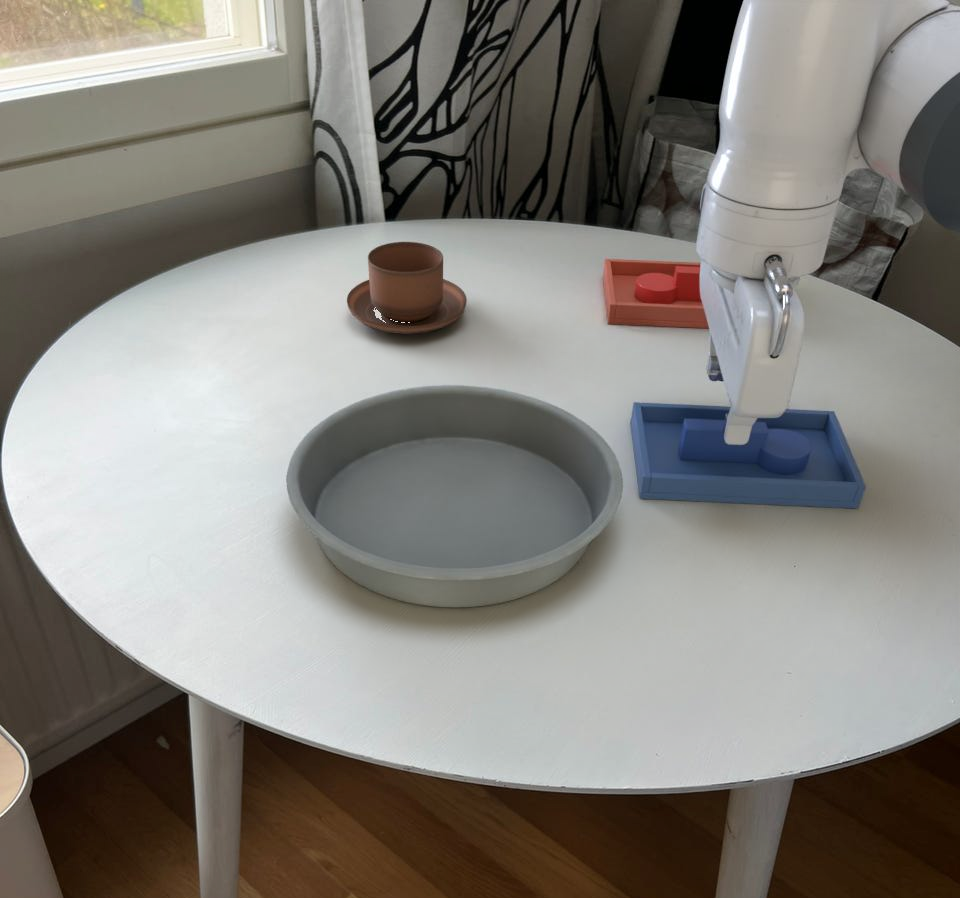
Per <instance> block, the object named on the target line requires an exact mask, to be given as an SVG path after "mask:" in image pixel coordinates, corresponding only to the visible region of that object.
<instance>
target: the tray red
mask: <svg viewBox="0 0 960 898" xmlns="http://www.w3.org/2000/svg"><path fill="white" fill-rule="evenodd" d="M700 265H701V262H695V261H693V262H691V261H667V260H646V259H644V260H643V259H640V260H639V259H623V258H622V259H621V258H604V264H603V270H602V271H603V272H602V283H603V291H604V293H603V294H604V299H605V300H604V301H605V302H604V303H605V310H606V319H607V324H608V325H623V326H624V325H627V326H647V327H669V328H693V329H709V326H708V322H707V318H706V315H705V311H704V308H703V304H702V302H700V301H679V300H675V301H674V302H673V303H671V304H648V303H643V302H641V301H639V300H638V299H637V298H636V297H635V288H636V281H637V278H638V277H639V276H641V275H643V274H647V273H662V274H666V275H670V276H672V277H674V273H675V267H676V266H688V267H700Z"/></svg>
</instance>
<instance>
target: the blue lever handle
mask: <svg viewBox="0 0 960 898" xmlns="http://www.w3.org/2000/svg"><path fill="white" fill-rule="evenodd" d="M723 425H724V420H707V419H686V418H685V419H684V423H683V428H682V433H681V438H680V443H679V448H678V450H679V456H680V460H693V461H714V462H735V463H756V464H757V465H758V466H760V467H761V468H763V469H765V470H767V471H769V472H772V473H776V474H783V475H790V474H796V473H799V472H801V471H803V470H804V469H805V468H806V466H807V463H808V460H809V456H810V453H811V450H812V446H811V443H810V442H809V440H808V439H807V438H805V437H804V436H802V435H801V434H799V433H796V432H794V431H790V430H785V429H770V430H768V429H767V426H766V423H765V422H755V423H754V424H753V425H752V429H751V433H750V437H749V440H748V442H747V443H746V444H744V445H730V444H727V443H725V440H724V435H723V431H722V428H723Z"/></svg>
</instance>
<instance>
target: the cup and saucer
mask: <svg viewBox="0 0 960 898" xmlns="http://www.w3.org/2000/svg"><path fill="white" fill-rule="evenodd" d="M367 265H368V266H367V267H368V279H366V280H364V281H362V282H360V283H358V284H357V285H355V286H354V287H353V288H351V290H350V291H349V292H348V294H347V297H346V304H347V308H348V310H349V312H350V313H351V314H352V316H353V317H354V318H355V319H356V320H358V321H359V322H361V323H362V324H364V325H365V326H367V327H370V328H372V329H375V330H379V331H381V332H386V333H392V334H405V335H407V334H409V335H410V334H421V333H427V332H432V331H436V330H439V329H441V328H444V327H446V326H448V325H450V324H452V323H453V322H454V321H456V320H457V319H459V317H460V316H461V315H463V313H464V312H465V310H466V306H467V301H468V299H467V294H466V293H465V292H464V290H463V289H462V288H461V287H460V286H459V285H457V284H455V283H454V282H452V281H449V280H448V279H444V255H443V252H441V251H440V249H438V248H437V247H434V246H432V245H430V244H426V243H423V242H417V241H416V242H415V241H395V242H389V243H385V244H381V245H378V246H377V247H375V248H373V249H372V250H370V251H369V253H368V255H367ZM375 307H376V308H375ZM374 308H375V310H376V309H377V310H378V311H379V312H380V313H381V316H382V317H381V318H382V320H384V321H385V322H386V323H385V322H383V321H382V320H380V319H379V318H376V316H375V312H374V311H373V310H374ZM390 319H392V320H390ZM393 320H394V321H393ZM395 321H398V322H395ZM401 322H405V323H401ZM408 322H410V323H408Z"/></svg>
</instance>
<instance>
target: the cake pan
mask: <svg viewBox="0 0 960 898" xmlns="http://www.w3.org/2000/svg"><path fill="white" fill-rule="evenodd" d="M285 477H286V478H285V482H286V491H287V495H288V499H289V501H290V504H291V506H292V508H293V510H294V512H295V513H296V515H297V517H298V518H299V519H300V521H301V522H302V524H303V525H304V526H306V528H307V530H309V531H310V532H311V533H312V534H313V535H314V536H315V538H316V540H317V542H318V544H319V546H320V548H321V550H322V552H323V554H324V555H325V556H326V557H327V559H328V560H329V561H330V562H331V563H332V565H334V566H335V568H337V569H338V570H339V571H340V572H341V573H342V574H344V575H345V576H346V577H348V578H349V579H350V580H351V581H353V582H355V583H356V584H358V585H360V586H362V587H363V588H366V589H367V590H370V591H372V592H373V593H376V594H379V595H382V596H385V597H388V598H390V599H392V600H393V599H394V600H396V601H400V602H403V603H404V602H405V603H409V604H413V605H419V606H427V607H428V606H429V607H435V608H436V607H437V608H474V607H475V608H476V607H482V606H483V607H484V606H490V605H496V604H501V603H506V602H510V601H513V600H518V599H520V598H523V597H526V596H528V595H531V594H534V593H536V592H538V591H541V590H542V589H545V588H546V587H548V586H550V585H552V584H553V583H555V582H557V581H558V580H559V579H561V578H562V577H563V576H565V575H566V574H567V573H568V572H570V570H572V568H574V567H575V566H576V565H577V563H578V562H579V561H580V560H581V558H582V557H583V556H584V554H585V552H586V551H587V549H588V547H589V545H590V543H591V542H592V541H593V540H595V538H597V536H599V535H600V533H602V532H603V531H604V530H605V528H606V527H607V526H608V525H609V523H610V522H611V521H612V520H613V518H614V516H615V514H616V513H617V512H618V511H617V510H618V508H619V507H620V506H619V505H620V503H621V500H622V496H623V489H624V488H623V487H624V484H623V483H624V480H623V479H624V478H623V474H622V469H621V466H620V463H619V461H618V458H617V456H616V454H615V452H614V451H613V449H612V448H611V446H610V445H609V443H608V442H607V441H606V439H604V438H603V437H602V436H601V434H600V433H598V432H597V431H596V430H595V429H594V428H592V427H591V426H590V425H589V424H587V423H586V422H585V421H583V420H582V419H580V418H578V417H577V416H575V415H574V414H573V413H570V412H568V411H567V410H565V409H563V408H562V407H558V406H557V405H554V404H553V403H550V402H547V401H544V400H542V399H539V398H535V397H532V396H529V395H526V394H522V393H518V392H514V391H510V390H506V389H499V388H493V387H489V386H488V387H487V386H477V385H476V386H475V385H463V384H462V385H461V384H459V385H458V384H457V385H455V384H454V385H453V384H452V385H451V384H438V385H423V386H416V387H415V386H414V387H407V388H402V389H397V390H392V391H388V392H384V393H380V394H377V395H372V396H370V397H367V398H364V399H361V400H358V401H355V402H353V403H351V404H349V405H347V406H345V407H343V408H341V409H339V410H337V411H335V412H334V413H332V414H330V415H329V416H327V417H325V418H324V419H323V420H321V421H320V422H319V423H318V424H316V425H315V426H314V427H313V428H312V429H311V430H309V432H307V433H306V435H305V436H304V437H303V438H302V440H301V441H300V442H299V443H298V445H297V447H296V448H295V450H294V451H293V453H292V455H291V457H290V460H289V463H288V466H287V470H286V475H285Z"/></svg>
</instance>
